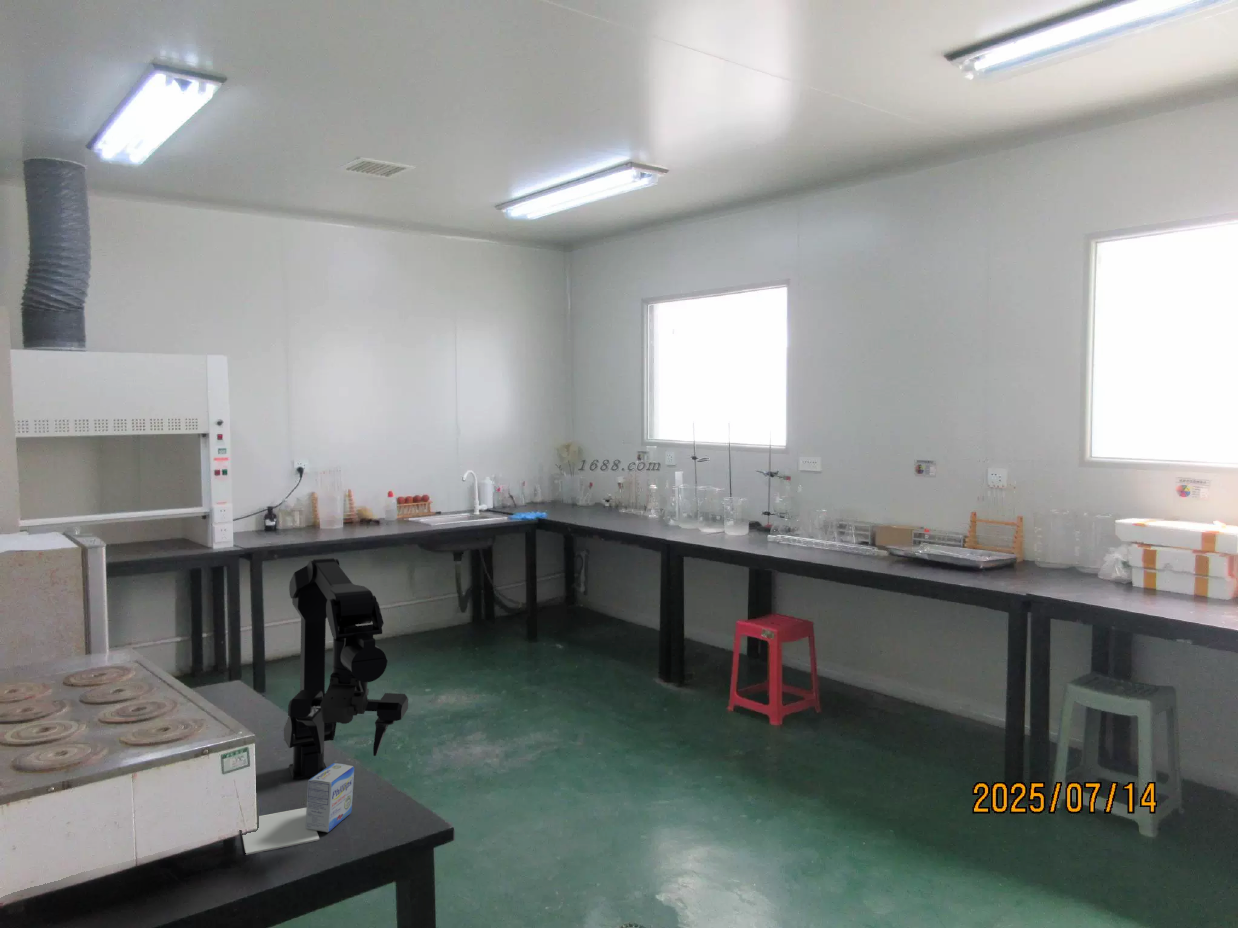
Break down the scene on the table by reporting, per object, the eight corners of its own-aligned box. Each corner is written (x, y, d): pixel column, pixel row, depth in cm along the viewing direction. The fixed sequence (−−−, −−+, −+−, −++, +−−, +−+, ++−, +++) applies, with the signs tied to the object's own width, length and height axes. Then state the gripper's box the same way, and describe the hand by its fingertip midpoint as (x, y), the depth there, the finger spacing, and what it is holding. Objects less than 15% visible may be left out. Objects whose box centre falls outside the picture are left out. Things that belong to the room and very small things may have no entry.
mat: (239, 821, 143) (239, 819, 143) (308, 808, 149) (308, 806, 149) (245, 854, 133) (245, 852, 133) (319, 839, 138) (319, 838, 138)
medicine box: (328, 833, 140) (331, 783, 140) (304, 829, 141) (307, 778, 140) (352, 813, 148) (355, 765, 147) (329, 809, 149) (332, 761, 148)
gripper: (276, 677, 132) (274, 773, 133) (394, 682, 132) (391, 777, 133) (301, 656, 143) (299, 744, 144) (410, 660, 143) (407, 748, 145)
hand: (348, 753), depth 141 cm, fingers open, 9 cm apart
